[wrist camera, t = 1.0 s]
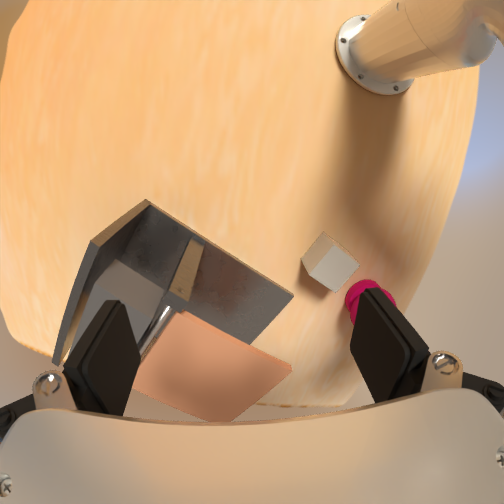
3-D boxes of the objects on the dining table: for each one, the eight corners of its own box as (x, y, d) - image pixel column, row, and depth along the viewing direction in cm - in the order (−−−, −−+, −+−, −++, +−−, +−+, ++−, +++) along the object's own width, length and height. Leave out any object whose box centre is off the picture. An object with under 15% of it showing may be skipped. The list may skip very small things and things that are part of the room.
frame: (145, 198, 35) (90, 240, 21) (293, 293, 42) (318, 370, 27) (96, 297, 41) (51, 362, 26) (223, 368, 47) (221, 444, 32)
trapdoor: (117, 254, 26) (96, 278, 21) (288, 353, 32) (295, 384, 27) (81, 337, 30) (66, 364, 25) (223, 410, 36) (223, 438, 31)
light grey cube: (323, 231, 38) (334, 244, 34) (347, 250, 40) (360, 265, 35) (300, 258, 40) (308, 274, 35) (325, 276, 41) (335, 293, 37)
